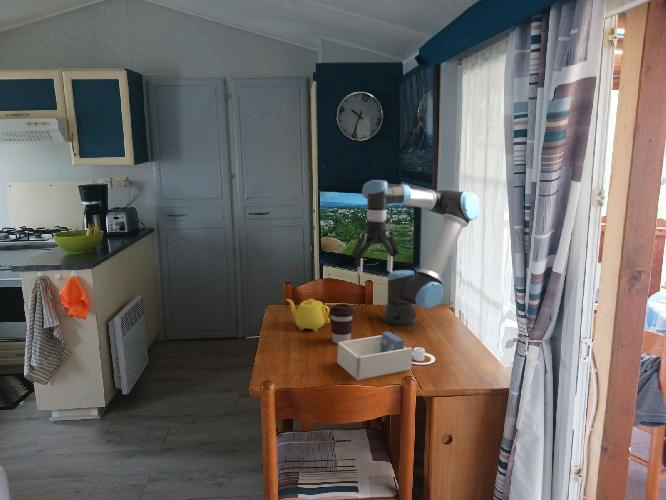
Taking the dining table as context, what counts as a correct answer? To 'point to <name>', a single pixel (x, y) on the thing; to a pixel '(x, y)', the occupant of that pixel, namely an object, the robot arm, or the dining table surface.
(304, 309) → the teapot
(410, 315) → the robot arm
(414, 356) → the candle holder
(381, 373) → the box
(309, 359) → the dining table surface
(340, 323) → the coffee cup
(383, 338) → the blue flat block
